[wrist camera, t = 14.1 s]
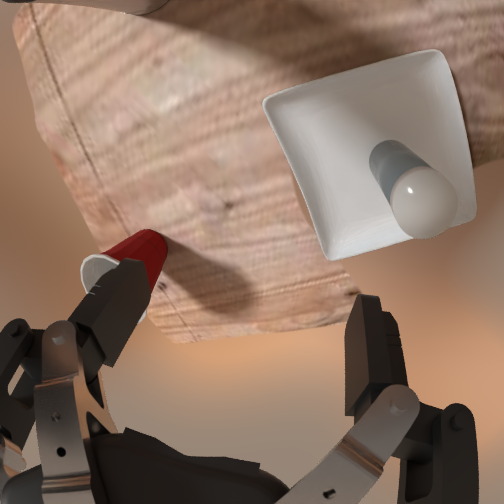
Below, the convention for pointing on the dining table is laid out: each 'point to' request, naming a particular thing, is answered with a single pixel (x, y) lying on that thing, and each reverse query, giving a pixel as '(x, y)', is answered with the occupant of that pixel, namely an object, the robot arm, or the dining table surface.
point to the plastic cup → (135, 247)
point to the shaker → (413, 190)
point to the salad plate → (370, 144)
